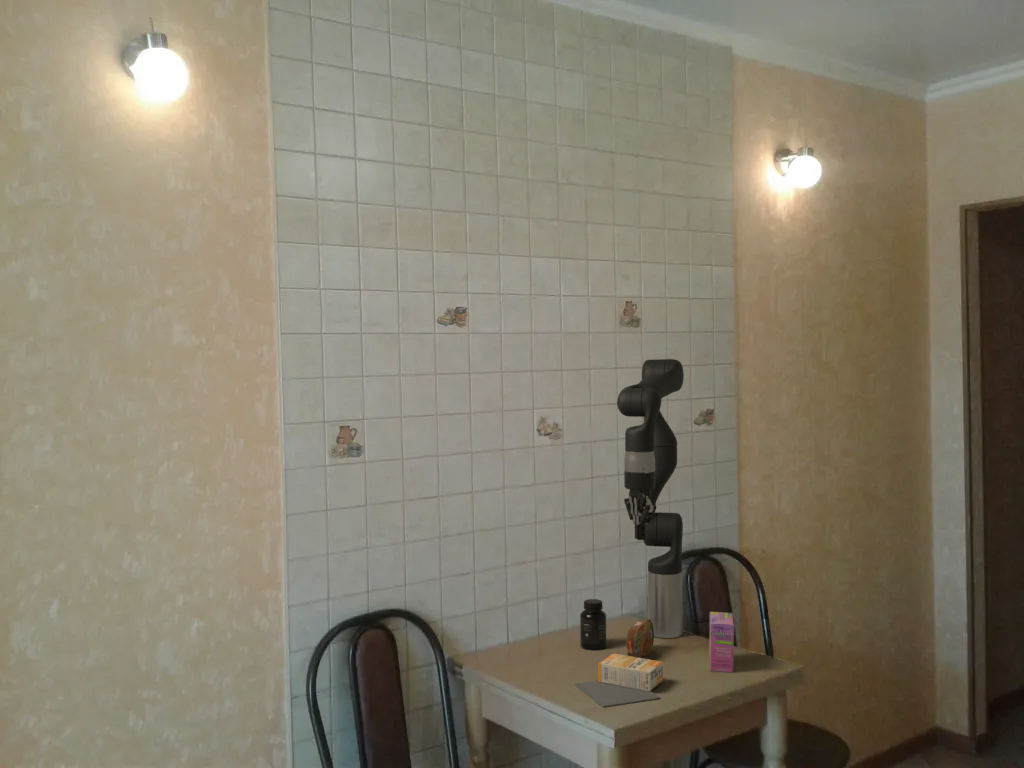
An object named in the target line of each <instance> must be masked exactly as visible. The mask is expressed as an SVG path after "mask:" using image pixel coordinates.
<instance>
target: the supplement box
mask: <svg viewBox="0 0 1024 768" xmlns="http://www.w3.org/2000/svg"><path fill="white" fill-rule="evenodd" d="M597 667H598V668H597V669H598V670H597V671H598V672H597V673H598V680H599V682H602V683H607V684H613V685H618V686H623V687H628V688H633V689H638V690H644V691H649V692H650V691H653V690H654V689H655V688H656V687H658V686H659V685H660V684H661V683H663V681H664V662H663V661H660V660H655V659H654V660H653V659H649V658H644V659H643V658H637V657H631V656H628V655H625V654H617V653H611V654H610V655H609V656H607V657H606V658H605V659H603V660H602V661H600V662H598V665H597Z"/></svg>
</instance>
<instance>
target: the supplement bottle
mask: <svg viewBox="0 0 1024 768" xmlns="http://www.w3.org/2000/svg"><path fill="white" fill-rule="evenodd" d="M603 608H604V607H603V601H602V600H600V599H597V598H588V599H585V600H584V601H583V609H584V610H582V611H581V612H580V615H579V619H580V620H579V632H580V633H579V635H580V637H579V641H580V643H579V645H580V647H581V648H582V649H584V650H588V651H600V650H604V649H605V648H607V614H606V612H605V611H604V610H603Z"/></svg>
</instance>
